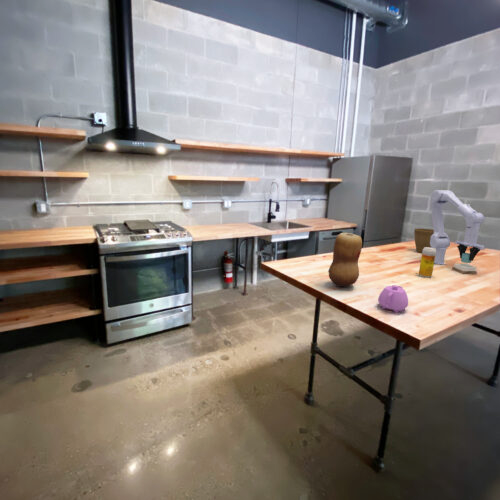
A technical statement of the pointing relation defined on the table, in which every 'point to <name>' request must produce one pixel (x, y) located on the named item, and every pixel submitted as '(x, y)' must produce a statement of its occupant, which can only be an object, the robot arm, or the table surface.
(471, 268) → the off-white slab
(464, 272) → the walnut slab
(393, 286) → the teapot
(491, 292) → the table surface
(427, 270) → the glass of beer
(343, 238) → the butternut squash
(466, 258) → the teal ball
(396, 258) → the table surface
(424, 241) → the plant pot
